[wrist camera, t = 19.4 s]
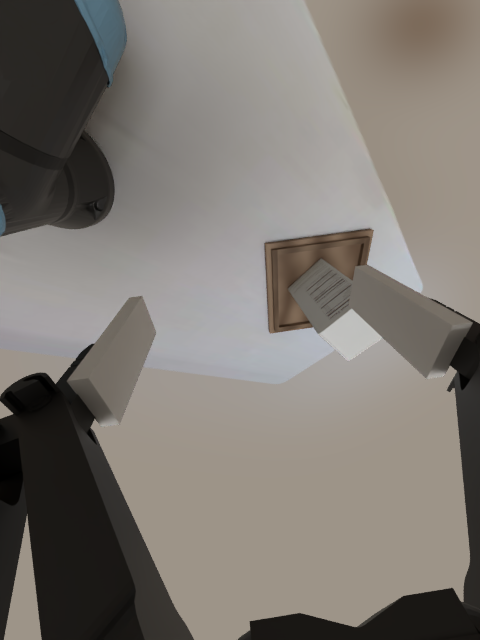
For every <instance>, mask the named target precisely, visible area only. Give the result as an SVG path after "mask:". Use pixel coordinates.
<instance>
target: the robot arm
mask: <svg viewBox="0 0 480 640" xmlns="http://www.w3.org/2000/svg"><path fill="white" fill-rule="evenodd" d="M126 41H127V35H126V26H125V21H124V17H123V12H122V9H121V6H120V4H119V1H118V0H0V237H1V236H5V235H9V234H12V233H16V232H20V231H24V230H28V229H32V228H36V227H40V226H43V225H47V224H48V225H52V226H56V227H60V228H66V229H81V228H86V227H89V226H92V225H95V224H97V223H98V222H100V221H101V220H103V219H104V218H105V217H106V216H107V214H108V213H109V211H110V209H111V207H112V204H113V200H114V182H113V177H112V173H111V170H110V167H109V165H108V163H107V160H106V158H105V157H104V155H103V153H102V152H101V150H100V149H99V147H98V146H97V144H96V143H95V142H94V141H93V140H92V139H91V137H90V136H89V135H88V134H87V133H86V132H84V131H83V130H84V128H85V126H86V125H87V123H88V121H89V119H90V117H91V115H92V113H93V111H94V109H95V107H96V106H97V104H98V102H99V100H100V98H101V96H102V94H103V92H104V90H105V89H106V87H110V86H111V85H112V82H113V73H114V71H115V69H116V67H117V65H118V62H119V60H120V58H121V56H122V54H123V52H124V49H125V46H126ZM349 307H350V308H351V309H353V310H354V311H355V312H356V313H357V314H358V315H359V316H360V317H361V318H362V319H363V320H364V321H365V322H366V323H367V324H369V325H370V326H371V327H372V328H373V329H374V330H375V331H376V332H377V333H378V334H379V335H380V336H381V337H382V338H383V339H385V340H386V341H387V342H388V343H389V344H390V345H391V346H392V347H393V348H394V349H395V350H396V351H397V352H398V353H400V354H401V355H402V356H403V357H404V358H405V359H406V360H407V361H408V362H409V363H410V364H411V365H412V366H413V367H414V368H416V369H417V370H418V371H419V372H420V373H421V374H422V375H423V376H424V377H425V378H426V379H428V378H435V377H442V376H444V375H445V373H446V372H447V370H448V368H449V366H452V367H453V368H454V369H455V370H457V373H456V374H455V376H454V378H453V380H452V381H451V383H450V385H449V387H448V389H447V391H449V392H450V391H451V390H452V388H455V394H456V406H457V416H458V427H459V438H460V449H461V459H462V470H463V482H464V491H465V503H466V514H467V525H468V535H469V547H470V565H469V569H468V571H467V575H466V577H465V582H464V602H461V601H460V600H459V598H458V596H457V595H456V593H455V591H454V589H453V588H450V589H444V590H437V591H431V592H425V593H419V594H413V595H407V596H403V597H401V598H400V599H398V600H396V601H395V602H393V603H392V604H390V605H388V606H387V607H385V608H383V609H382V610H380V611H379V612H377V613H376V614H374V615H373V616H371V617H370V618H369V619H367V620H366V621H365V622H363V623H362V624H360V625H359V626H358V627H352V626H348V625H344V624H340V623H336V622H332V621H328V620H325V619H321V618H316V617H313V616H309V615H305V614H301V613H298V614H292V615H286V616H280V617H274V618H268V619H261V620H255V621H250V631H248V632H247V633H246V634H244V635H242V636H241V637H240V638H239V639H238V640H480V324H479V323H477V322H475V321H474V320H472V319H470V318H468V317H466V316H464V315H462V314H461V313H459V312H457V311H454V310H453V309H451V308H449V307H446V305H444V304H442V303H440V302H438V301H436V300H433V299H430V298H427V297H425V296H423V295H421V294H420V293H418V292H416V291H414V290H413V289H411V288H409V287H407V286H405V285H403V284H402V283H400V282H398V281H396V280H394V279H392V278H391V277H389V276H387V275H385V274H383V273H382V272H380V271H378V270H376V269H374V268H372V267H371V266H369V265H363V266H355V271H354V277H353V283H352V288H351V294H350V300H349ZM155 335H156V331H155V328H154V325H153V323H152V320H151V318H150V315H149V312H148V310H147V307H146V305H145V302H144V299H143V297H142V296H138V297H131V298H129V299H128V300H127V302H126V303H125V304H124V306H123V307H122V308H121V310H120V311H119V312H118V314H117V315H116V316H115V318H114V319H113V320H112V322H111V323H110V324H109V326H108V327H107V328H106V330H105V331H104V332H103V334H102V335H101V336H100V338H99V339H98V340H97V342H96V343H95V344H91V345H90V346H88V347H87V348H86V349H84V350H83V351H82V352H81V353H80V354H79V356H78V357H77V358H76V361H74V362H73V363H72V364H71V367H69V368H68V369H67V371H66V372H65V373H64V374H63V376H62V377H61V378H60V379H59V381H58V382H57V383H56V384H55V383H54V382H53V381H52V379H51V378H50V377H49V376H48V375H47V374H46V373H36V374H32V375H29V376H26V377H24V378H22V379H20V380H18V381H17V382H15V383H13V384H12V385H11V386H10V387H8V388H7V389H6V390H5V391H4V392H3V393H2V394H1V396H0V401H1V402H2V403H3V404H4V405H5V406H6V407H7V408H8V409H9V410H10V411H11V412H13V413H14V414H13V415H10V416H7V417H4V418H2V419H0V640H4V635H5V629H6V624H7V618H8V613H9V608H10V602H11V597H12V592H13V586H14V581H15V575H16V570H17V565H18V559H19V554H20V548H21V543H22V538H23V533H24V527H25V522H26V516H27V514H28V524H29V533H30V542H31V550H32V558H33V568H34V576H35V585H36V594H37V602H38V611H39V620H40V629H41V637H42V640H194V639H193V637H192V635H191V633H190V631H189V630H188V628H187V626H186V624H185V623H184V621H183V620H182V618H181V617H180V615H179V614H178V612H177V610H176V609H175V607H174V605H173V603H172V600H171V599H170V596H169V594H168V592H167V590H166V588H165V585H164V583H163V581H162V579H161V577H160V574H159V572H158V570H157V568H156V566H155V564H154V561H153V560H152V557H151V555H150V553H149V551H148V548H147V546H146V544H145V542H144V540H143V538H142V535H141V533H140V531H139V529H138V527H137V524H136V522H135V520H134V518H133V516H132V514H131V511H130V509H129V507H128V505H127V503H126V501H125V499H124V496H123V494H122V492H121V490H120V487H119V485H118V483H117V481H116V479H115V477H114V474H113V472H112V470H111V468H110V466H109V464H108V461H107V459H106V457H105V455H104V453H103V450H102V448H101V447H100V444H99V442H98V440H97V437H96V435H95V433H94V431H93V430H92V429H91V428H90V427H91V425H92V423H93V421H94V419H96V421H97V422H98V423H99V425H100V426H101V427H105V426H111V425H118V424H120V422H121V420H122V417H123V415H124V412H125V410H126V407H127V405H128V402H129V400H130V397H131V395H132V392H133V390H134V387H135V385H136V382H137V380H138V377H139V375H140V372H141V370H142V367H143V365H144V362H145V360H146V357H147V355H148V352H149V350H150V347H151V345H152V342H153V340H154V337H155Z"/></svg>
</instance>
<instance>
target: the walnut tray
mask: <svg viewBox="0 0 480 640" xmlns="http://www.w3.org/2000/svg"><path fill="white" fill-rule="evenodd" d="M373 231H374V230H372V229H365V230H358V231H351V232H343V233H336V234H328V235H321V236H314V237H306V238H299V239H292V240H284V241H277V242H269V243H265V260H266V280H267V301H268V321H269V332H270V333H276V332H283V331H290V330H297V329H304V328H311V327H313V326H312V324H311V323H310V321H309V320H308V318H307V317H306V315H305V314H304V312H303V311H302V310H301V308H300V307H299V305H298V304H297V302H296V301H295V299H294V298H293V296H292V295H291V293H290V292H289V290H288V288H289V287H290V286H291V285H292V284H293V283H294V282H295V281H296V280H298V279H299V278H300V277H301V276H302V275H303V274H304V273H305V272H306V271H308V270H309V269H310V268H311V267H312V266H313V265H314V264H315V263H316V262H318V261H319V260H320V259H321V258H322V259H323V260H324V261H326V262H327V263H329V264H330V265H331V266H333V267H334V268H335V269H337V270H338V271H340V272H341V273H342V274H344V275H345V276H346V277H348V278H349V279H351V280H352V281H353V277H354V271H355V266H363V265H367V261H368V256H369V251H370V246H371V241H372V236H373Z"/></svg>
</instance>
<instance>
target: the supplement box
mask: <svg viewBox="0 0 480 640" xmlns="http://www.w3.org/2000/svg"><path fill="white" fill-rule="evenodd" d="M352 283H353V281H352V280H351V279H349V278H348V277H346V276H345V275H344V274H342V273H341V272H340V271H338V270H337V269H335V268H334V267H333V266H331V265H330V264H329V263H327V262H326V261H324V260H323V259H322V258H321V259H320V260H319V261H318V262H316V263H315V264H314V265H313V266H312V267H311V268H310V269H309V270H308V271H306V272H305V273H304V274H303V275H302V276H301V277H300V278H299V279H298V280H296V281H295V282H294V283H293V284H292V285H291V286H290V287H289V288H288V290H289V292H290V293H291V295H292V296H293V298H294V299H295V301H296V302H297V304H298V305H299V307H300V308H301V310H302V311H303V312H304V314H305V315H306V317H307V318H308V320H309V321H310V323H311V324H312V326H313V327H314V329H315V330H316V332H317V333H318V335H320V336H321V337H322V338H323V339H324V340H325V341H326V342H327V343H328V344H329V345H331V346H332V347H333V348H334V349H335V350H336V351H337V352H338V353H339V354H340V355H342V356H343V357H344V358H345V359H346V360H347V361H350V360H351V359H353V358H354V357H356V356H357V355H359V354H360V353H362V352H363V351H365V350H366V349H367V348H369V347H370V346H372V345H373V344H375V343H376V342H378V341H379V340H381V339H382V337H381V336H380V335H379V334H378V333H377V332H376V331H375V330H374V329H373V328H372V327H371V326H370V325H369V324H367V323H366V322H365V321H364V320H363V319H362V318H361V317H360V316H359V315H358V314H357V313H356V312H355V311H354V310H353V309H351V308H350V307H349V300H350V294H351V288H352Z"/></svg>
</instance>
